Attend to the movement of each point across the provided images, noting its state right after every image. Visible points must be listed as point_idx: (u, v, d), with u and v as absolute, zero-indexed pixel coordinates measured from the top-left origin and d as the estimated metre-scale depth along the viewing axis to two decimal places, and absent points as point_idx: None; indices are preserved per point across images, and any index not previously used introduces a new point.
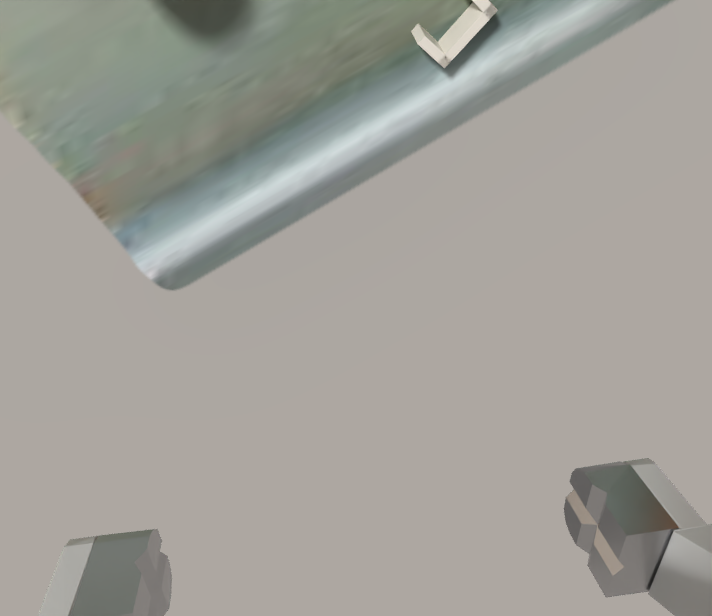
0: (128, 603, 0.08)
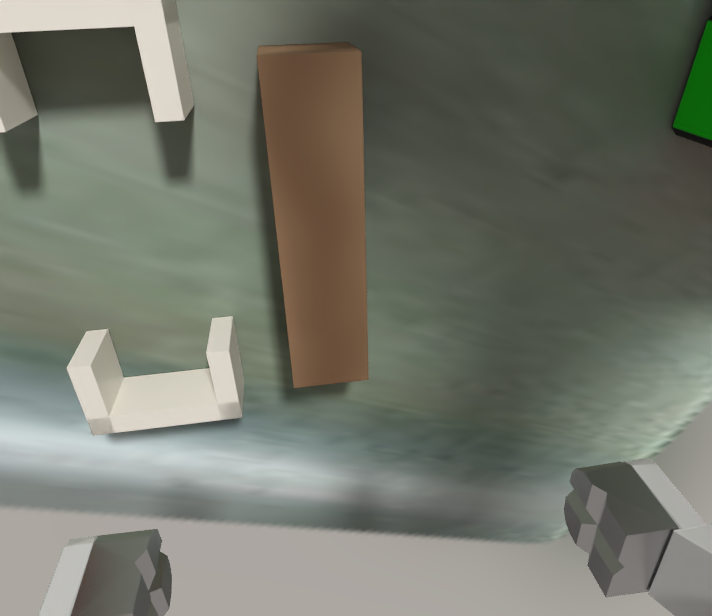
0: (128, 603, 0.08)
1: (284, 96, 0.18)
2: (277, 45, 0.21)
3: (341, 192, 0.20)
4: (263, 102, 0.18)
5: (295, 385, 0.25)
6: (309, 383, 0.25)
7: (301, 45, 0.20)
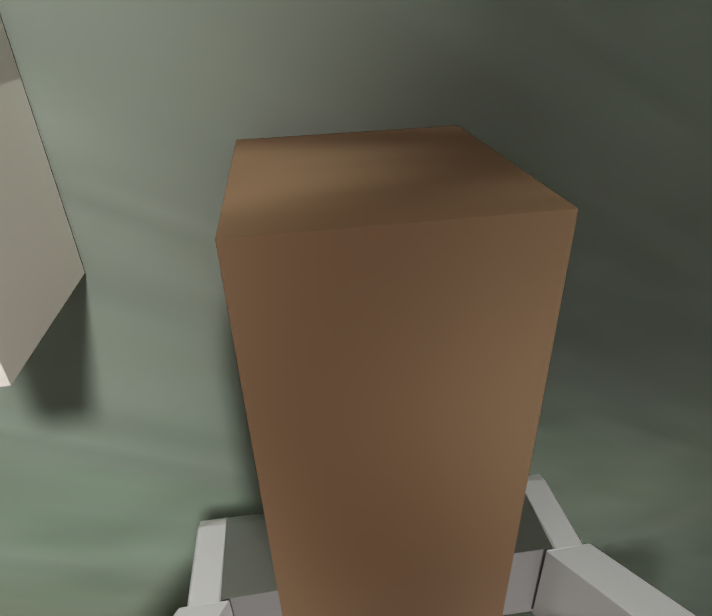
0: (274, 580, 0.09)
1: (312, 347, 0.06)
2: (285, 141, 0.08)
3: (456, 539, 0.08)
4: (243, 367, 0.06)
5: None
6: None
7: (349, 145, 0.08)
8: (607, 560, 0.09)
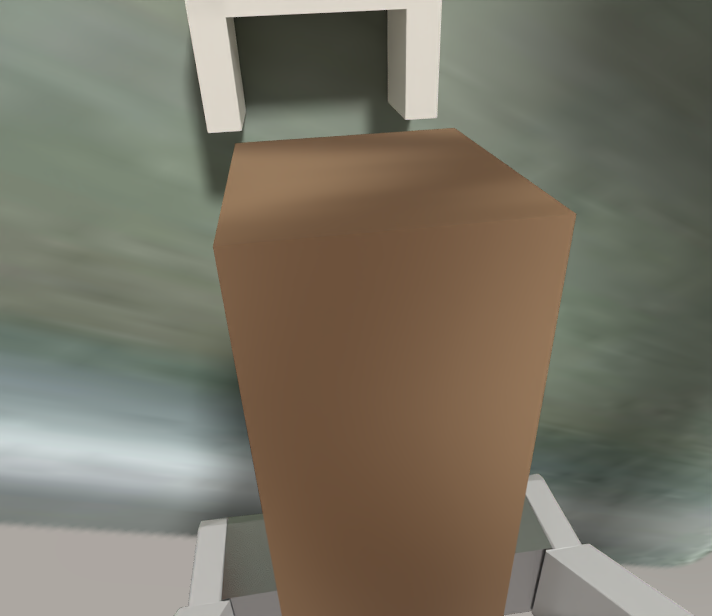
0: None
1: (310, 352, 0.06)
2: (284, 146, 0.08)
3: (456, 543, 0.08)
4: (241, 374, 0.06)
5: None
6: None
7: (348, 149, 0.08)
8: (607, 560, 0.09)
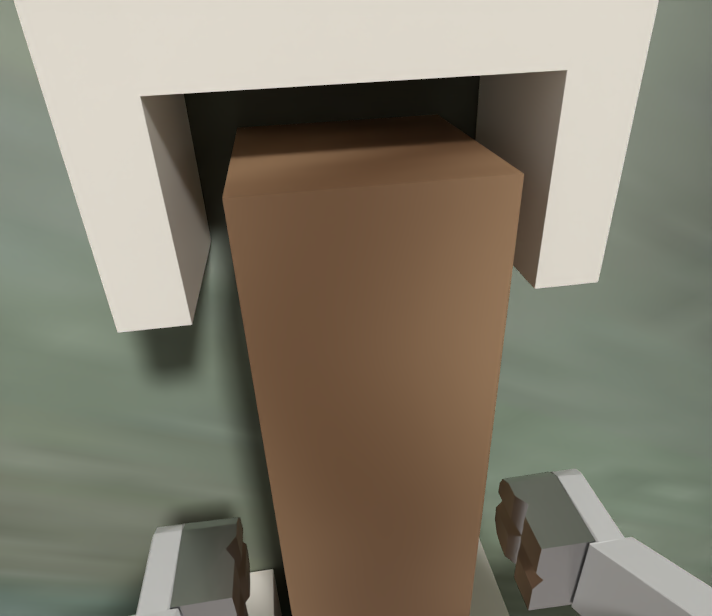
0: (226, 588, 0.08)
1: (302, 293, 0.07)
2: (281, 126, 0.09)
3: (433, 474, 0.09)
4: (245, 311, 0.07)
5: None
6: None
7: (337, 129, 0.09)
8: (651, 553, 0.09)
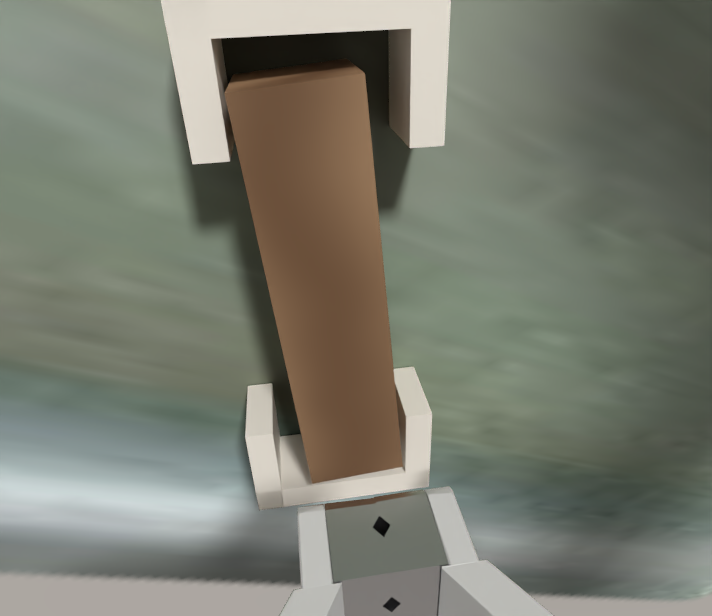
0: (382, 564, 0.09)
1: (266, 142, 0.14)
2: (257, 71, 0.16)
3: (351, 254, 0.16)
4: (239, 152, 0.14)
5: (314, 481, 0.20)
6: (331, 477, 0.20)
7: (287, 69, 0.16)
8: (500, 577, 0.08)
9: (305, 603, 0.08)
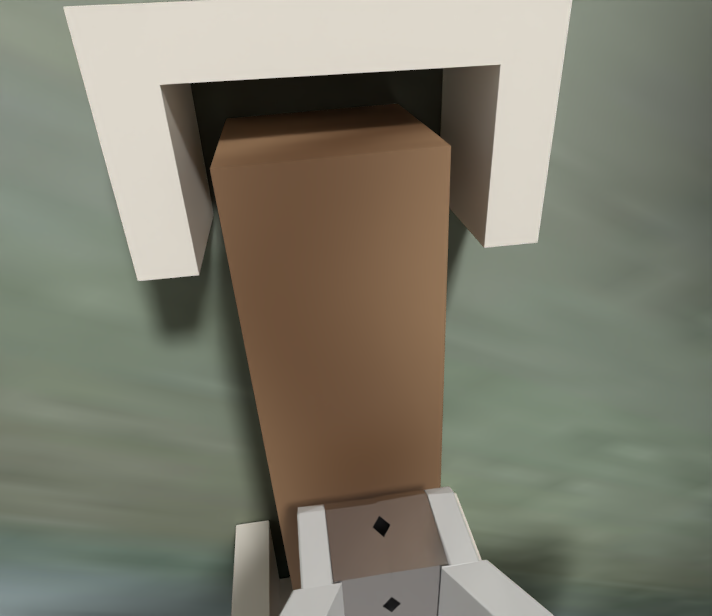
0: (382, 564, 0.09)
1: (277, 247, 0.08)
2: (263, 116, 0.11)
3: (396, 406, 0.10)
4: (231, 262, 0.08)
5: None
6: None
7: (310, 116, 0.10)
8: (500, 577, 0.08)
9: (305, 603, 0.08)
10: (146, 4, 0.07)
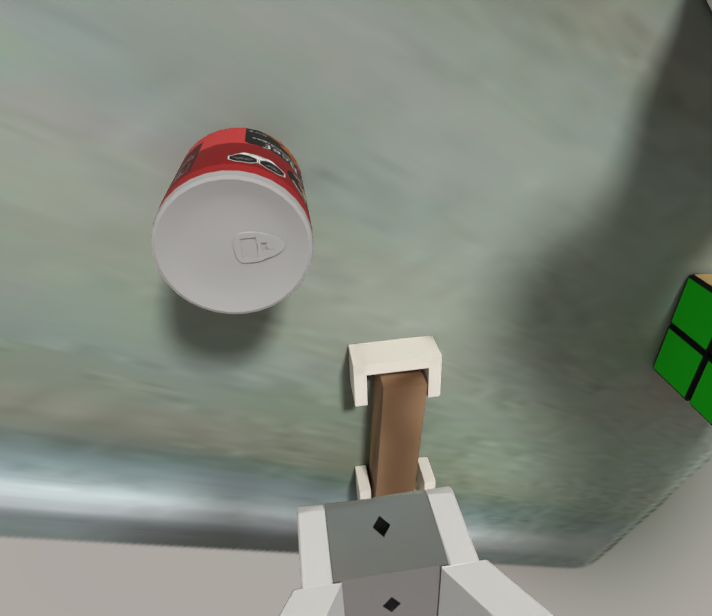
0: (382, 564, 0.09)
1: (392, 400, 0.43)
2: None
3: (411, 432, 0.45)
4: (383, 402, 0.43)
5: None
6: None
7: None
8: (500, 577, 0.08)
9: (305, 603, 0.08)
10: (366, 364, 0.41)
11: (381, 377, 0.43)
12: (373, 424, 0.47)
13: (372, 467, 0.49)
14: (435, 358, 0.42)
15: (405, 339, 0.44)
